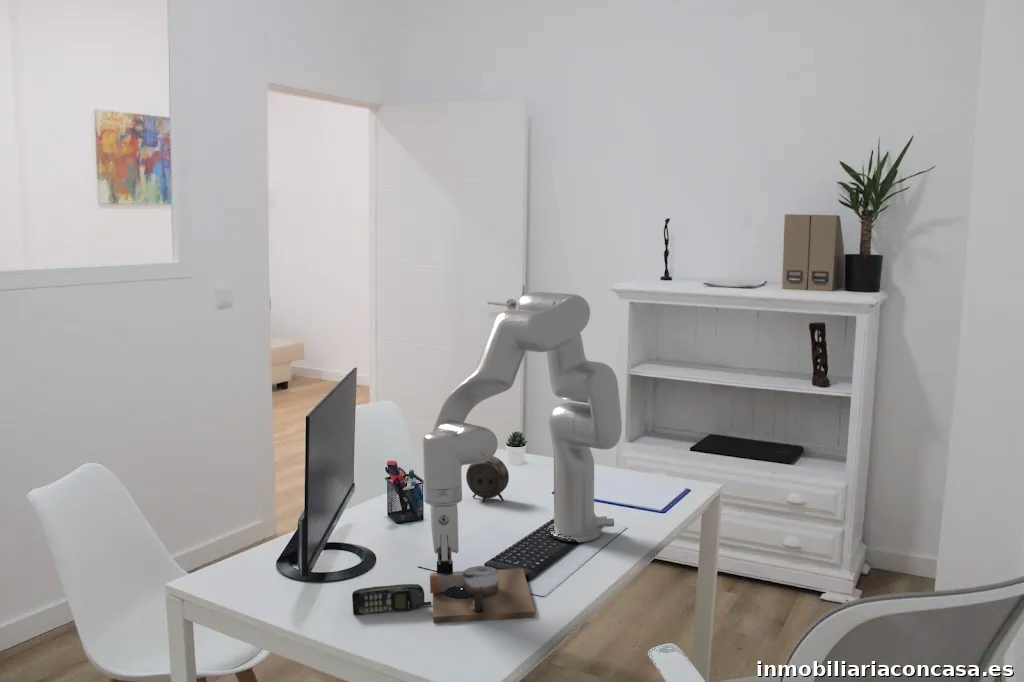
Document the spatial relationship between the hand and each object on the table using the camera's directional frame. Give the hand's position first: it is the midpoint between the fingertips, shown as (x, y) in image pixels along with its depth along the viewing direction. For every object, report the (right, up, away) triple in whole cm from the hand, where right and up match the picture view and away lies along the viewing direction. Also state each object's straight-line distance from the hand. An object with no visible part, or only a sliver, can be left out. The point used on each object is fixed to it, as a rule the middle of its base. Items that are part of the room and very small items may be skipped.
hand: (445, 581), depth 179 cm
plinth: (+7, -2, -3) cm, 8 cm away
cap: (+4, -1, -3) cm, 5 cm away
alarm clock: (+7, +5, +58) cm, 59 cm away
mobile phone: (-10, -4, -8) cm, 13 cm away
